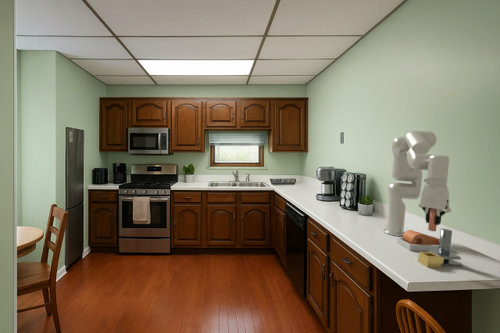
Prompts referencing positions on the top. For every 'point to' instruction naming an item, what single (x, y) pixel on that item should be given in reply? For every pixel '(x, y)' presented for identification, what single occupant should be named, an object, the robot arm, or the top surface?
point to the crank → (419, 238)
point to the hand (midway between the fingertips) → (432, 223)
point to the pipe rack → (418, 246)
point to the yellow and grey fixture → (440, 253)
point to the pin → (432, 219)
